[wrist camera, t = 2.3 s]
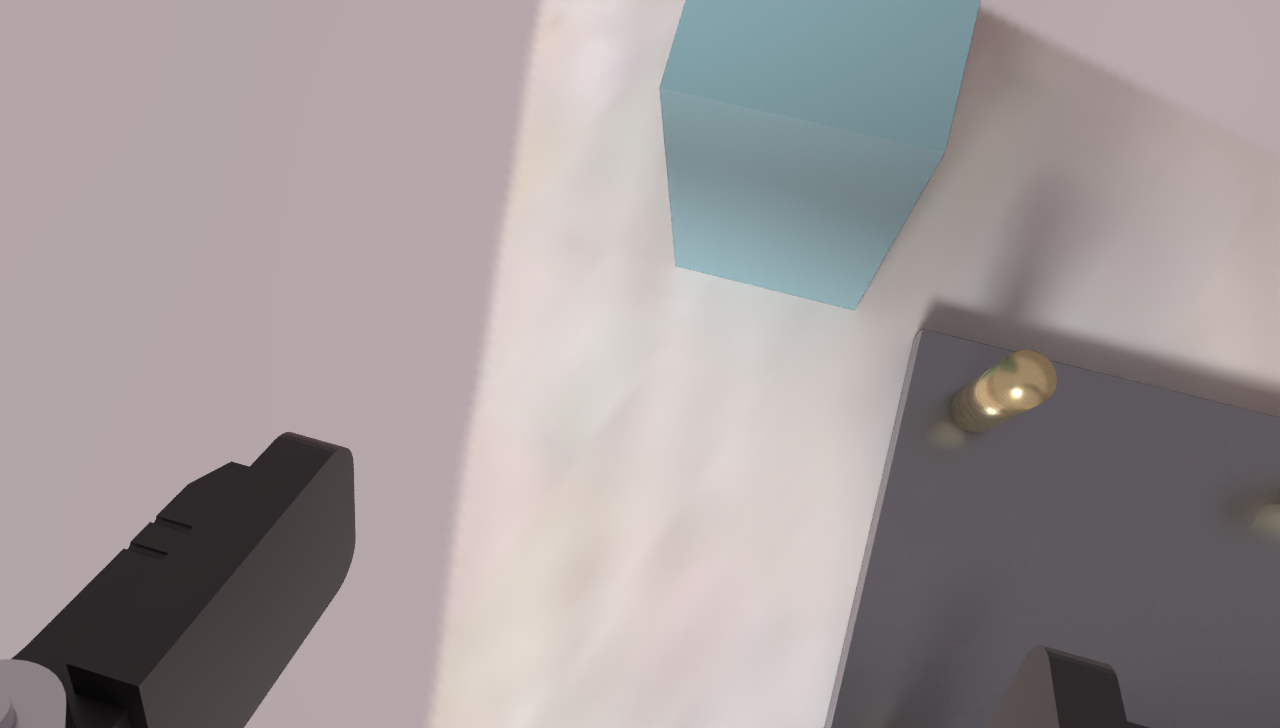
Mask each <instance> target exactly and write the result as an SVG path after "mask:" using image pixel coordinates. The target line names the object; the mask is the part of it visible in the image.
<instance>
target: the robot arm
mask: <svg viewBox="0 0 1280 728" xmlns="http://www.w3.org/2000/svg"><path fill="white" fill-rule="evenodd" d="M353 467H354V466H353V456H352V453H351V451H350V450H349V449H348V448H345V447H342V446H338V445H335V444H331V443H327V442H323V441H320V440H317V439H313V438H310V437H306V436H302V435H299V434H295V433H292V432H286V433H284V434H282V435H281V436H279V437H278V438H277V439H275V440H274V441H273V443H272V444H271V445H270V446H269V447H268V448H267V449H266V450H265V451H264V452H263V453H262V454H261V455H260V456H259V457H258V459H257V460H256V461H255V462H254V463H253V464H252V465H251V466H250V467H248V466H245V465H241V464H238V463H234V462H230V463H228V464H226V465H224V466H222V467H220V468H218V469H217V470H215V471H213V472H211V473H209V474H207V475H205V476H203V477H201V478H199V479H197V480H195V481H194V482H191V483H190V484H188V485H187V486H186V487H185V488H184V489H183V490H182V491H181V492H180V493H179V494H178V495H177V496H176V497H175V498H174V499H173V500H172V501H171V502H170V503H169V504H168V505H167V506H166V507H165V508H164V509H163V510H162V511H161V512H160V513H159V514H158V515H157V517H156V520H155V522H154V523H151V522H150V523H149V524H148V525H147V526H146V527H145V528H144V529H143V530H142V531H141V532H140V533H139V534H138V535H137V536H136V537H135V538H134V539H133V540H132V541H131V543H130V546H129V548H128V549H127V550H126V549H123V550H122V551H121V552H120V553H119V554H118V555H117V556H116V557H115V558H114V559H113V560H112V561H111V562H110V563H109V564H108V565H107V566H106V567H105V568H104V569H103V570H102V571H101V572H100V573H99V574H98V575H97V576H96V577H95V578H94V579H93V580H92V581H91V582H90V583H89V584H88V585H87V586H86V587H85V588H84V589H83V590H82V591H81V592H80V593H79V594H78V595H77V596H76V597H75V598H74V599H73V600H72V601H71V602H70V603H69V604H68V605H67V606H66V607H65V608H64V609H63V610H62V611H61V612H60V613H59V614H58V615H57V616H56V617H55V618H54V619H53V620H52V621H51V622H50V623H49V624H48V625H47V626H46V627H45V628H44V629H43V630H42V631H41V632H40V633H39V634H38V635H37V636H36V637H35V638H34V639H33V640H32V641H31V642H30V643H29V644H28V645H27V646H26V647H25V648H24V649H22V650H21V651H20V652H19V653H18V654H17V655H16V656H14V657H13V658H12V659H10V660H0V728H244V726H245V725H246V724H247V722H248V721H249V719H250V718H251V716H252V715H253V714H254V712H255V711H256V709H257V708H258V706H259V705H260V704H261V702H262V701H263V699H264V698H265V696H266V695H267V693H268V692H269V690H270V689H271V688H272V686H273V685H274V683H275V682H276V680H277V679H278V677H279V676H280V674H281V673H282V672H283V670H284V669H285V667H286V666H287V664H288V663H289V661H290V660H291V659H292V657H293V656H294V654H295V653H296V651H297V650H298V649H299V647H300V645H301V644H302V643H303V641H304V640H305V638H306V637H307V635H308V634H309V632H310V631H311V630H312V628H313V627H314V625H315V624H316V622H317V621H318V619H319V618H320V616H321V615H322V614H323V612H324V611H325V609H326V608H327V607H328V605H329V604H330V602H331V601H332V599H333V598H334V596H335V595H336V593H337V592H338V590H339V589H340V587H341V585H342V583H343V582H344V579H345V577H346V575H347V573H348V570H349V567H350V564H351V561H352V558H353V554H354V548H355V503H354V468H353ZM986 728H1149V727H1146V726H1142V725H1139V724H1135V723H1132V722H1128V721H1127V718H1126V714H1125V709H1124V705H1123V700H1122V696H1121V691H1120V687H1119V682H1118V679H1117V675H1116V673H1115V671H1114V669H1113V668H1112V667H1111V666H1110V665H1109V664H1106V663H1102V662H1099V661H1095V660H1092V659H1088V658H1085V657H1081V656H1077V655H1074V654H1070V653H1067V652H1063V651H1060V650H1056V649H1053V648H1049V647H1045V646H1042V645H1036V646H1035V647H1033V648H1032V649H1031V650H1030V651H1029V653H1028V654H1027V656H1026V658H1025V659H1024V661H1023V663H1022V665H1021V666H1020V668H1019V670H1018V672H1017V673H1016V675H1015V677H1014V679H1013V681H1012V682H1011V684H1010V686H1009V688H1008V689H1007V691H1006V693H1005V695H1004V696H1003V698H1002V700H1001V702H1000V703H999V705H998V707H997V709H996V710H995V712H994V714H993V716H992V717H991V719H990V721H989V723H988V725H987V727H986Z"/></svg>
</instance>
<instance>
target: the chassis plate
mask: <svg viewBox="0 0 1280 728" xmlns="http://www.w3.org/2000/svg"><path fill="white" fill-rule="evenodd" d="M1036 645H1042V646H1045V647H1049V648H1053V649H1056V650H1060V651H1063V652H1067V653H1070V654H1074V655H1077V656H1081V657H1085V658H1088V659H1092V660H1095V661H1099V662H1102V663H1106V664H1109V665H1110V666H1111V667H1112V668H1113V669H1114V671H1115V673H1116V675H1117V679H1118V682H1119V687H1120V691H1121V696H1122V700H1123V705H1124V709H1125V714H1126V718H1127V721H1128V722H1132V723H1135V724H1139V725H1142V726H1146V727H1149V728H1280V418H1279V417H1275V416H1271V415H1267V414H1263V413H1259V412H1255V411H1251V410H1247V409H1243V408H1239V407H1235V406H1231V405H1227V404H1223V403H1219V402H1215V401H1211V400H1207V399H1203V398H1199V397H1195V396H1191V395H1187V394H1183V393H1179V392H1175V391H1170V390H1166V389H1162V388H1158V387H1154V386H1150V385H1146V384H1142V383H1138V382H1134V381H1130V380H1126V379H1122V378H1118V377H1114V376H1110V375H1106V374H1102V373H1098V372H1094V371H1090V370H1086V369H1082V368H1078V367H1074V366H1070V365H1066V364H1062V363H1058V362H1054V361H1050V360H1048V359H1047V358H1046V357H1045V356H1044V355H1042V354H1040V353H1038V352H1036V351H1032V350H1019V351H1016V352H1013V351H1009V350H1005V349H1001V348H997V347H993V346H989V345H985V344H981V343H977V342H973V341H969V340H965V339H961V338H957V337H953V336H949V335H945V334H941V333H937V332H933V331H929V330H925V329H922V330H921V331H920V332H919V333H918V334H917V336H916V337H915V338H914V341H913V345H912V350H911V354H910V358H909V363H908V367H907V371H906V376H905V380H904V384H903V389H902V393H901V397H900V402H899V406H898V410H897V415H896V419H895V423H894V428H893V432H892V436H891V441H890V445H889V449H888V454H887V458H886V462H885V467H884V471H883V475H882V480H881V484H880V488H879V493H878V497H877V501H876V506H875V510H874V514H873V519H872V523H871V527H870V532H869V536H868V540H867V545H866V549H865V554H864V558H863V562H862V567H861V571H860V575H859V580H858V584H857V588H856V593H855V597H854V601H853V606H852V610H851V614H850V619H849V623H848V627H847V632H846V636H845V640H844V645H843V649H842V653H841V658H840V662H839V666H838V671H837V675H836V679H835V684H834V688H833V692H832V697H831V701H830V705H829V710H828V714H827V718H826V723H825V727H824V728H986V727H987V725H988V723H989V721H990V719H991V717H992V716H993V714H994V712H995V710H996V709H997V707H998V705H999V703H1000V702H1001V700H1002V698H1003V696H1004V695H1005V693H1006V691H1007V689H1008V688H1009V686H1010V684H1011V682H1012V681H1013V679H1014V677H1015V675H1016V673H1017V672H1018V670H1019V668H1020V666H1021V665H1022V663H1023V661H1024V659H1025V658H1026V656H1027V654H1028V653H1029V651H1030V650H1031V649H1032V648H1033V647H1035V646H1036Z"/></svg>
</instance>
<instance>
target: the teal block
mask: <svg viewBox="0 0 1280 728" xmlns="http://www.w3.org/2000/svg"><path fill="white" fill-rule="evenodd" d="M979 5H980V0H686V1H685V4H684V7H683V11H682V14H681V18H680V21H679V24H678V28H677V31H676V34H675V38H674V41H673V44H672V48H671V51H670V54H669V58H668V61H667V64H666V68H665V71H664V74H663V78H662V81H661V84H660V99H661V110H662V121H663V132H664V143H665V154H666V165H667V176H668V187H669V198H670V209H671V221H672V232H673V243H674V254H675V265H676V266H677V267H681V268H685V269H689V270H693V271H697V272H702V273H706V274H710V275H714V276H718V277H722V278H726V279H730V280H734V281H738V282H742V283H746V284H750V285H754V286H758V287H762V288H766V289H770V290H774V291H778V292H782V293H786V294H790V295H794V296H798V297H802V298H806V299H810V300H814V301H818V302H823V303H827V304H831V305H835V306H839V307H843V308H847V309H851V310H855V308H856V307H857V305H858V303H859V301H860V300H861V298H862V296H863V294H864V293H865V291H866V289H867V287H868V286H869V284H870V282H871V280H872V279H873V277H874V275H875V273H876V272H877V270H878V268H879V266H880V265H881V263H882V261H883V259H884V258H885V256H886V254H887V253H888V251H889V249H890V247H891V246H892V244H893V242H894V240H895V239H896V237H897V235H898V233H899V232H900V230H901V228H902V226H903V225H904V223H905V221H906V219H907V218H908V216H909V214H910V212H911V211H912V209H913V207H914V205H915V204H916V202H917V200H918V199H919V197H920V195H921V193H922V192H923V190H924V188H925V186H926V185H927V183H928V181H929V179H930V178H931V176H932V174H933V172H934V171H935V169H936V167H937V165H938V164H939V162H940V160H941V158H942V157H943V155H944V153H945V151H946V146H947V142H948V138H949V133H950V129H951V125H952V120H953V116H954V112H955V108H956V103H957V99H958V95H959V90H960V86H961V82H962V78H963V73H964V69H965V65H966V60H967V56H968V52H969V48H970V43H971V39H972V35H973V30H974V26H975V22H976V18H977V13H978V9H979Z"/></svg>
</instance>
